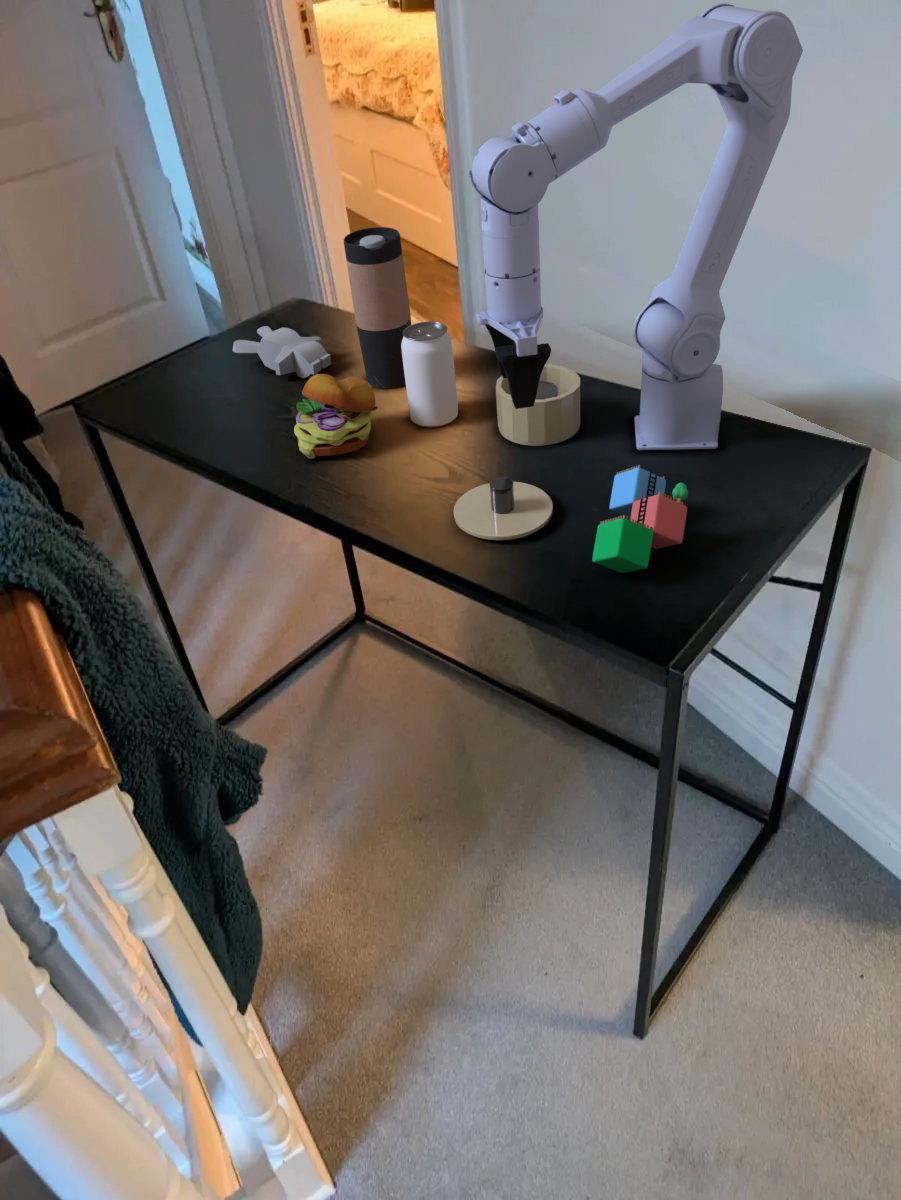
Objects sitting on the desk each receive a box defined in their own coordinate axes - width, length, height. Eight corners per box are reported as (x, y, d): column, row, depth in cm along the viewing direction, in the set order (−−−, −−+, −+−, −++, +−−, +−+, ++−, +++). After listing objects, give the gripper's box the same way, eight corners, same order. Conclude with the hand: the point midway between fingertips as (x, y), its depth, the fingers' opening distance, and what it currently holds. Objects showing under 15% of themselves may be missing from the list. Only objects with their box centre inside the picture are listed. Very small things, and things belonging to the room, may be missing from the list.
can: (453, 429, 116) (444, 341, 109) (405, 428, 118) (393, 341, 110) (463, 405, 121) (455, 319, 113) (416, 405, 122) (406, 319, 115)
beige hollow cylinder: (580, 405, 118) (580, 362, 114) (579, 445, 110) (579, 400, 106) (502, 407, 120) (499, 365, 116) (495, 446, 112) (492, 402, 108)
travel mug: (387, 362, 134) (367, 224, 121) (428, 372, 130) (412, 230, 117) (354, 383, 129) (330, 241, 117) (395, 394, 126) (375, 248, 113)
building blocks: (625, 589, 95) (642, 485, 98) (679, 580, 88) (696, 468, 91) (566, 567, 92) (586, 459, 94) (618, 555, 85) (638, 440, 87)
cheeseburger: (276, 448, 116) (274, 371, 111) (339, 433, 123) (340, 360, 118) (327, 470, 110) (327, 390, 106) (390, 453, 117) (393, 377, 113)
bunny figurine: (298, 362, 127) (223, 333, 133) (302, 394, 130) (228, 365, 137) (341, 337, 133) (267, 310, 139) (344, 368, 136) (271, 341, 142)
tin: (559, 412, 116) (558, 380, 113) (558, 431, 112) (557, 398, 110) (521, 413, 117) (519, 381, 114) (519, 431, 113) (517, 399, 110)
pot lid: (543, 483, 104) (542, 451, 101) (561, 537, 96) (561, 503, 93) (449, 495, 104) (446, 463, 101) (459, 551, 95) (456, 517, 93)
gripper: (463, 251, 97) (472, 368, 106) (484, 299, 86) (492, 426, 94) (527, 242, 97) (531, 360, 106) (556, 289, 86) (558, 416, 95)
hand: (517, 390), depth 100 cm, fingers open, 7 cm apart
